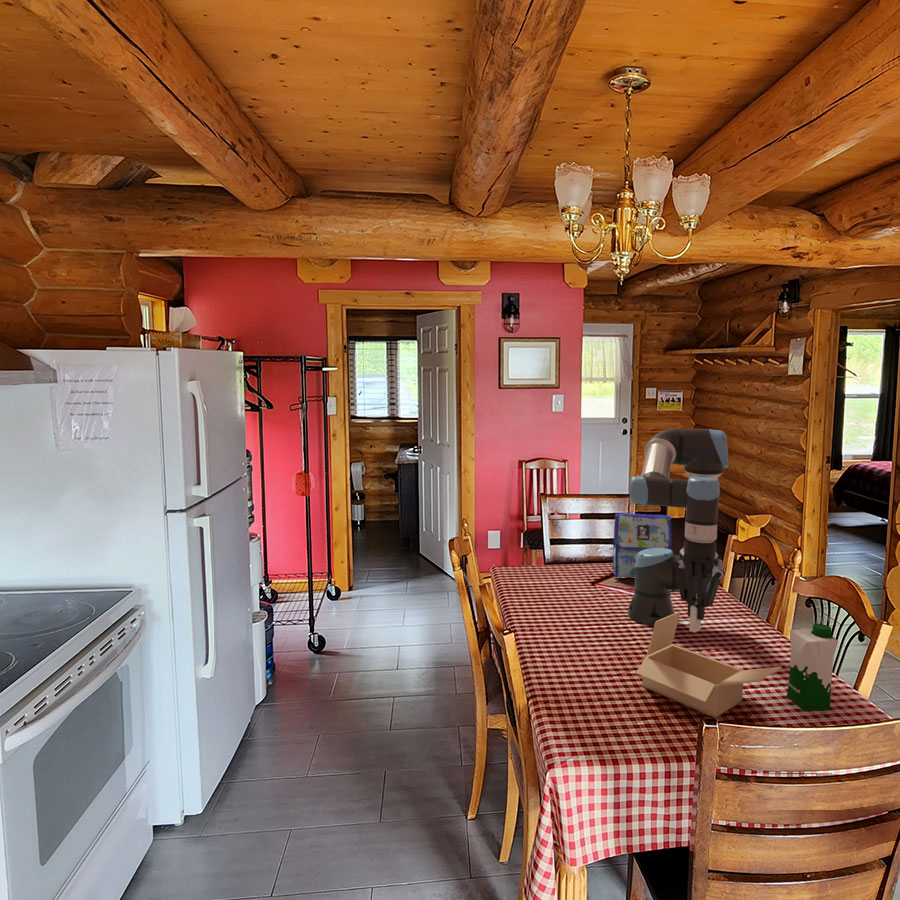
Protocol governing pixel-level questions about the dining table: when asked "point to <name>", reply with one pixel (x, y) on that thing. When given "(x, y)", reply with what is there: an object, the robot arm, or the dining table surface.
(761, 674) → the flap
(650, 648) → the flap
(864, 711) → the dining table surface
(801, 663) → the milk carton
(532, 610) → the dining table surface
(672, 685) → the carton
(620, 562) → the lunch bag
